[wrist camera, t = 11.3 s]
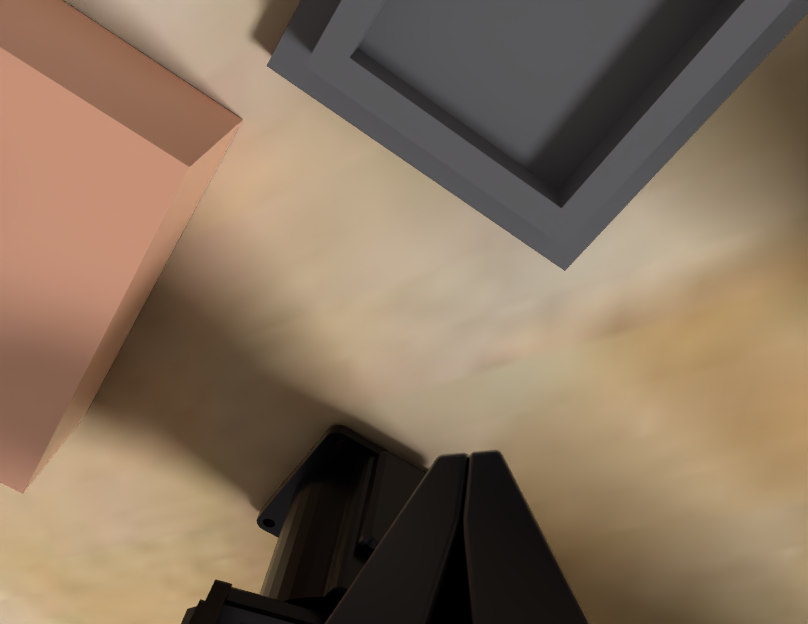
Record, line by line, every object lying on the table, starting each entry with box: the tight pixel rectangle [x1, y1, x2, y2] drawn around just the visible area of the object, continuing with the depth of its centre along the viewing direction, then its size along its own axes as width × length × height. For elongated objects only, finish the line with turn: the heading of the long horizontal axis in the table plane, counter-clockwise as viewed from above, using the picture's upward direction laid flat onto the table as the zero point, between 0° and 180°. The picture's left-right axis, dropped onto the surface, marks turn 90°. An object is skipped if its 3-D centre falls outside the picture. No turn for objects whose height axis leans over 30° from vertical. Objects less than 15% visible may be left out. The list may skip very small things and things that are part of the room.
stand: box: [267, 0, 808, 271], centre depth 16 cm, size 10×10×2 cm
